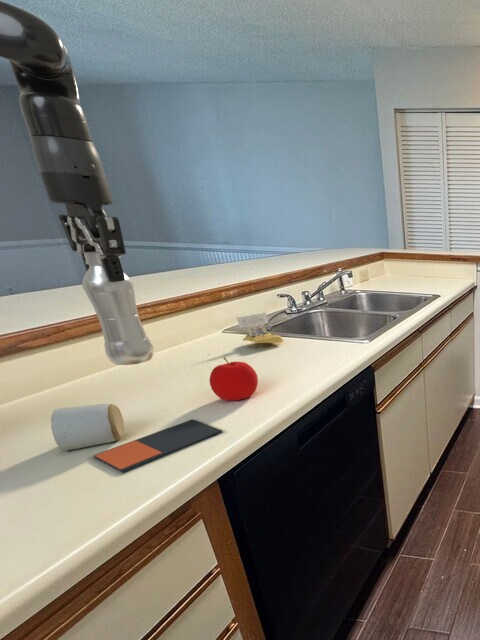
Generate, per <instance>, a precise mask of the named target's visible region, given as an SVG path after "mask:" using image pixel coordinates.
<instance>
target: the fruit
mask: <svg viewBox="0 0 480 640" xmlns="http://www.w3.org/2000/svg"><path fill="white" fill-rule="evenodd" d="M222 359H223V360H224V361H225V362H226V363H223V364H219V365H216V366H215V367H214V368H213V369H211V370H212V371H210V372H211V373H210V376H209V386H210V388H211V391H212V392H213V393H214V394H215V395H216V396H217V398H218V399H221V400H223V401H227V402H229V401H230V402H235V401H241V400H244V399H249V398H250V397H252V396H253V394H254V393H255V392H256V390H257V388H258V383H259V378H258V374H257V372H256V371H255V369H254V367H252V365H250V364H249V363H246V362H244V361H231V362H229V361H228V360H227V358H226V356H224V357H223V358H222Z"/></svg>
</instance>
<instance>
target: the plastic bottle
mask: <svg viewBox="0 0 480 640" xmlns="http://www.w3.org/2000/svg"><path fill="white" fill-rule="evenodd" d="M84 256H85V259H86V261H85V262H86V264H89V269H88V271H86V272H85V274H84V275H83V278H82V282H81V287H82V289H83V291H84V292H85V295H86V296H87V298H88V300H89V301H90V304H91V305H92V307H93V309H94V311H95V314H96V316H97V317H98V318H97V319H98V321H99V324H100V328H101V332H102V336H103V340H104V342H103V343H104V344H103V345H104V351H105V355H106V357H107V358H108V360H109V361H110V362H111V363H113V365H115V366H133V365H138V364H142V363H145V362H146V363H147V362H149V361H151V360H152V359H153V357H154V355H155V352H154V346H153V344H152V342H151V339H150V338H149V337H148V336H147V333H146V330H145V329H144V326H143V324H142V321H141V319H140V316H139V312H138V307H137V301H136V295H135V289H134V283H133V281H132V280H131V278H130V277H129V275H127V274H126V273H125V272H124V271H123V273H124V276H125V280H124V281H117V282H111V281H108V280H107V277H106V274H105V271H104V267H103V264H102V261H101V259H102V258H101V257H100V255H99V253H98V252H85V253H84Z"/></svg>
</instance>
